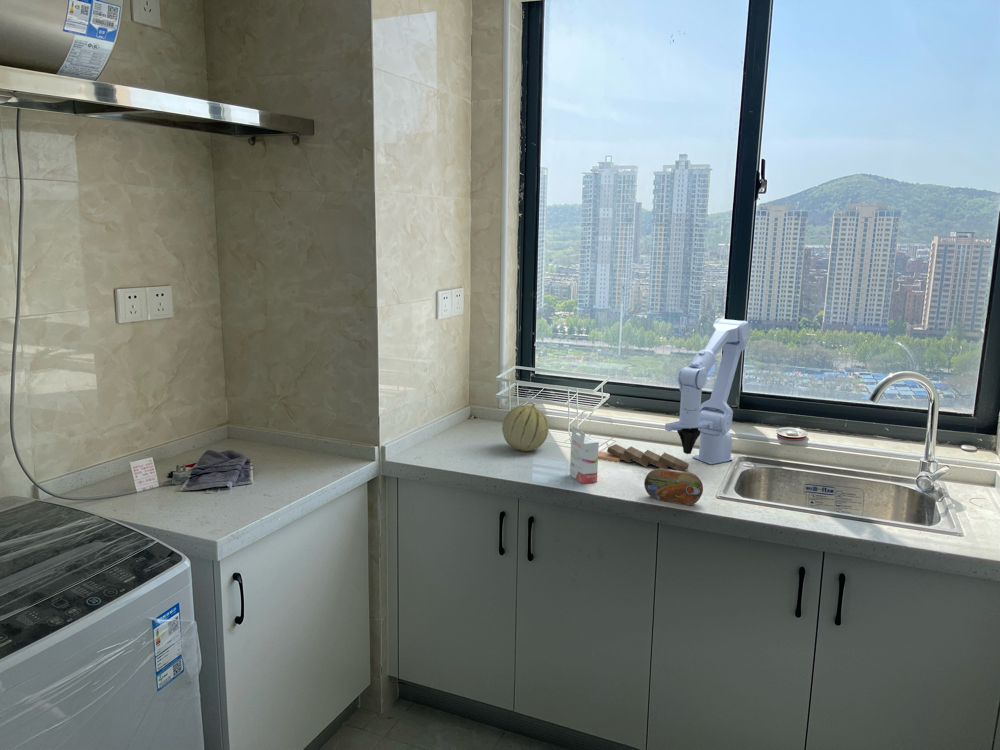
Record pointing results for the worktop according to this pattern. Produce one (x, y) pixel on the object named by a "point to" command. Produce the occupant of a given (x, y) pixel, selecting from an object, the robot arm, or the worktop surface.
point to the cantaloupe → (525, 428)
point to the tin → (673, 486)
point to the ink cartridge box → (583, 457)
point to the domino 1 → (608, 457)
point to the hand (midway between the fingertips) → (687, 453)
